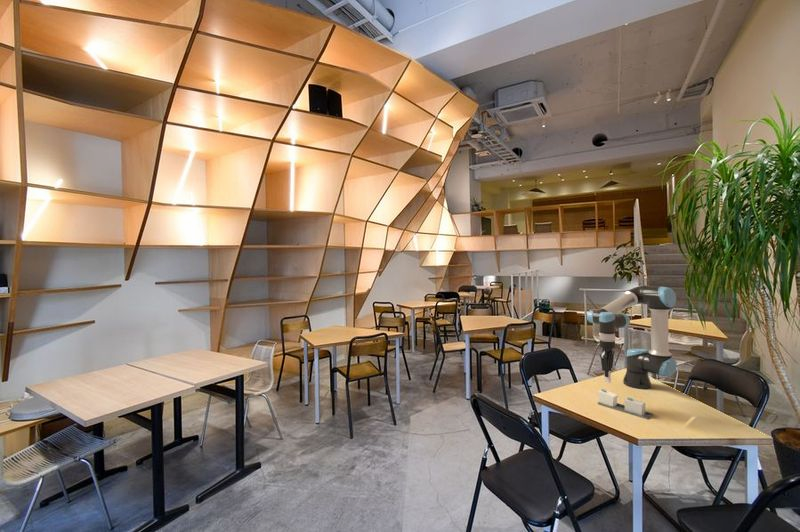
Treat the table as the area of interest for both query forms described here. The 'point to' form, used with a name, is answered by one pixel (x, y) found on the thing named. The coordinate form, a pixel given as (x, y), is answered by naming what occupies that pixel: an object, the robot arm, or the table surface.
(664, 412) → the table surface
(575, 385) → the table surface
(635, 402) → the module seated
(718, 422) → the table surface
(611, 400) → the block
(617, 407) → the rail
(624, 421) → the table surface
